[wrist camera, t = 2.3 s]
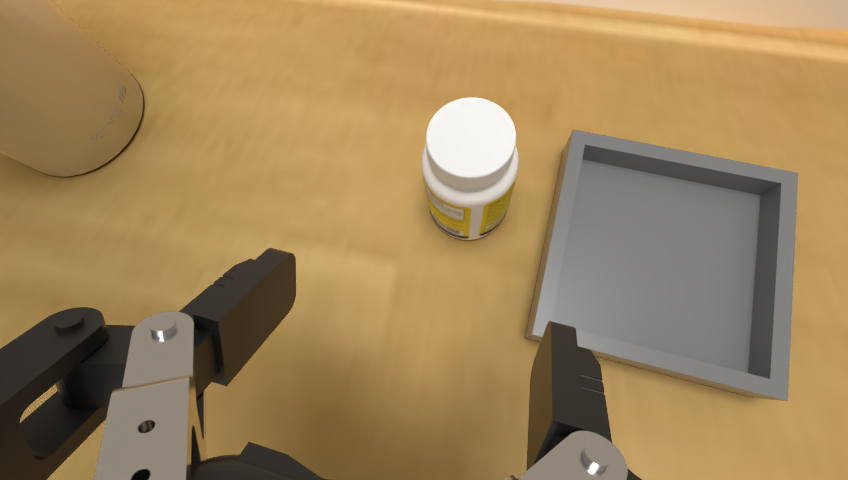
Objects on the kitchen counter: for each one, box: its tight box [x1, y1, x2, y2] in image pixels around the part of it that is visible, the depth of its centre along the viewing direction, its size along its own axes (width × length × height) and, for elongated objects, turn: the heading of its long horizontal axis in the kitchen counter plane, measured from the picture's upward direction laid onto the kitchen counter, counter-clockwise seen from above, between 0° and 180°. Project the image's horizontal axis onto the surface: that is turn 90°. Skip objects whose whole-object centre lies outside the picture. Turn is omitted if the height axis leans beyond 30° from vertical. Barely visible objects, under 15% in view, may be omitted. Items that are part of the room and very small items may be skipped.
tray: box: [525, 130, 798, 401], centre depth 24 cm, size 12×12×2 cm
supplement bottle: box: [422, 98, 519, 240], centre depth 23 cm, size 5×5×8 cm
